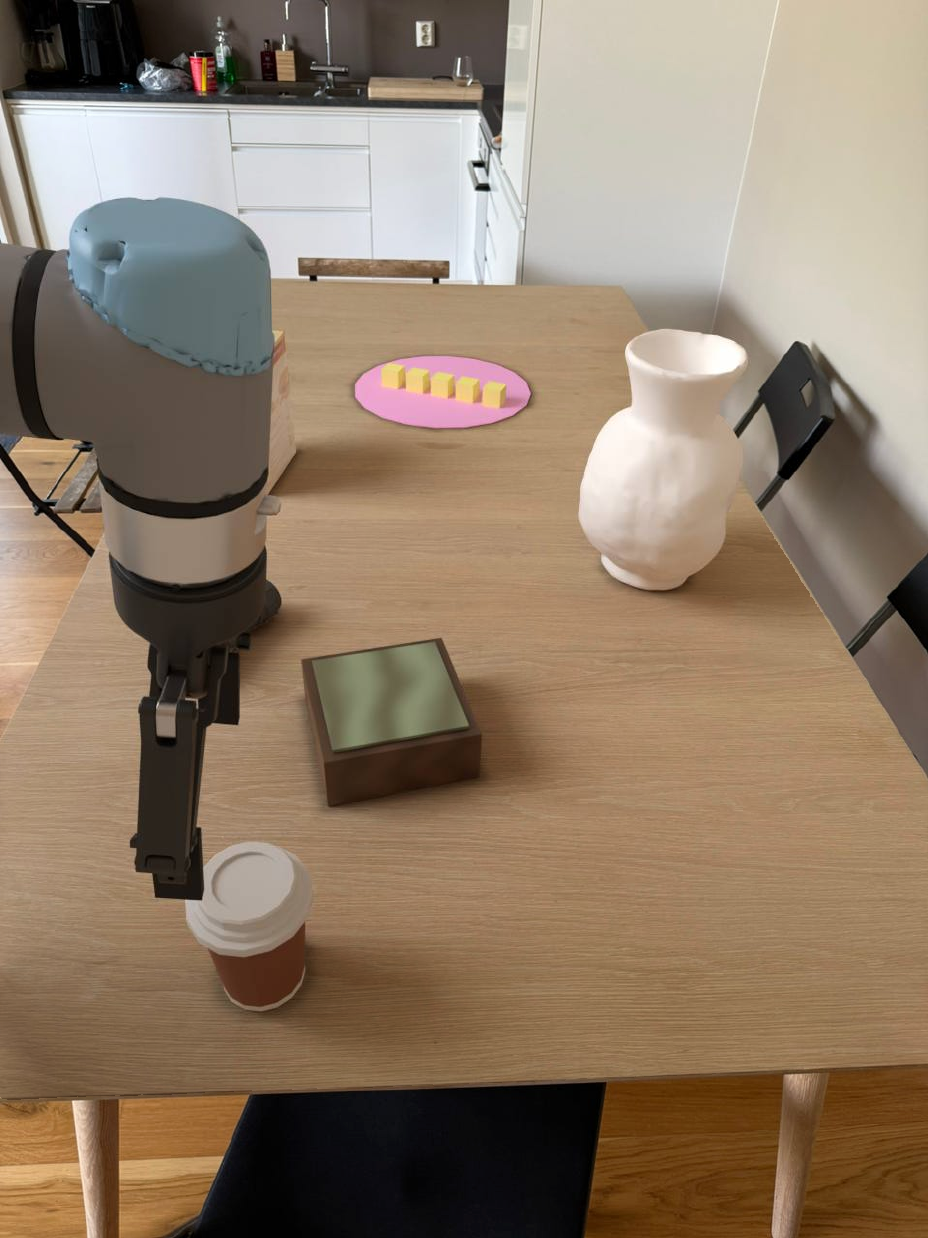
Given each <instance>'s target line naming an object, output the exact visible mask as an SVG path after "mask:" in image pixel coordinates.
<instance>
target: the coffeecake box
mask: <svg viewBox="0 0 928 1238" xmlns="http://www.w3.org/2000/svg"><path fill="white" fill-rule="evenodd" d="M272 332H273V333H274V336H275V343H274V356H273V379H272V401H271V423H270V446H269V471H268V478H267V481H268V485H267V490H266V493H265V495H270V492H271V491H272V489H273V488H274V486H275V485H276V483H277V482H278V480H279V479H280V477H281V476H282V474H283V473H284V471H285V470H286V468H287V467H288V465H289V464H290V463H291V461H292V459H293V458H294V456H295V455H296V453H297V448H296V447H297V446H296V438H295V429H294V417H293V406H292V398H291V397H292V396H291V386H290V377H289V366H288V355H287V348H286V338H285V334H286V333H285V331H283V330H273V329H272Z"/></svg>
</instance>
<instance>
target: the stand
mask: <svg viewBox="0 0 928 1238" xmlns="http://www.w3.org/2000/svg"><path fill="white" fill-rule="evenodd" d="M301 670H302V671H301V672H302V680H303V689H304V691H303V692H304V699H305V705H306V709H307V714H308V720H309V724H310V729H311V734H312V739H313V744H314V748H315V752H316V758H317V763H318V767H319V772H320V776H321V777H320V778H321V781H322V786H323V790H324V795H325V800H326V804H327V807H333V806H338V805H344V804H348V803H353V802H359V801H364V800H369V799H375V798H380V797H384V796H390V795H394V794H400V793H405V792H411V791H416V790H421V789H425V788H431V787H435V786H441V785H446V784H451V783H457V782H461V781H467V780H472V779H476V778H480V776H481V775H480V774H481V772H480V771H481V759H482V758H481V757H482V739H483V733H482V731H481V728H480V726H479V723H478V721H477V718H476V717H475V714H474V712H473V709H472V707H471V705H470V703H469V700H468V696H467V695H466V693H465V690H464V688H463V686H462V683H461V681H460V678H459V675H458V673H457V672H456V668H455V666H454V664H453V662H452V659H451V657H450V654H449V652H448V650H447V647H446V645H445V643H444V639H443V638H442V637H437V638H430V639H424V640H418V641H411V642H405V643H399V644H391V645H385V646H378V647H372V648H366V649H365V648H364V649H359V650H352V651H347V652H339V653H333V654H327V655H321V656H320V655H319V656H313V657H308V658H302V659H301Z"/></svg>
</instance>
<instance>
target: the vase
mask: <svg viewBox="0 0 928 1238" xmlns="http://www.w3.org/2000/svg"><path fill="white" fill-rule="evenodd" d="M624 356H625V361H626V364H627V369H628V374H629V375H628V376H629V381H630V388H631V405H630V406H628V407H626V408H624V409H622V410H619V411H617V412H615V414H614V415H612V416H610V418H609V419H608V420H607V422H606V423H605V424H604V425H603V426H602V428H601V429H600V431H599V433H598V434H597V437H596V439H595V441H594V443H593V446H592V449H591V452H590V454H589V455H588V459H587V462H586V466H585V468H584V471H583V477H582V480H581V483H580V486H579V487H580V488H579V505H578V514H577V515H578V521H579V523H580V526H581V530H582V531H583V533H584V535H585V537H586V539H587V540H588V541H589V543H590V544H591V545H592V546H593V548H594V549H596V550H597V551H598V552H599V553H600V554H601V555H600V556H601V558H600V562H601V564H602V566H603V567H604V569H605V570H606V571H607V572H608V573H609V574H610V576H611V577H613V578H614V579H616V580H617V581H619V582H621V583H623V584H625V585H628V586H631V587H633V588H637V589H641V590H646V591H668V590H673V589H675V588H679V587H680V586H682V585H683V584H685V582H686V580H687V579H688V578H689V577H690V576H693V575H694V574H696V573H698V572H699V571H701V570H702V569H704V567H706V566H707V565H708V564H709V563H711V562H712V561H713V560H714V559H715V557H717V555H718V554H719V552H720V551H721V549H722V547H723V545H724V542H725V539H726V534H727V529H726V525H727V524H726V523H727V520H726V517H727V514H728V513H729V511H730V509H731V508H732V506H733V504H734V501H735V499H736V494H737V492H738V489H739V481H740V477H741V475H742V473H743V469H744V463H745V460H744V451H743V447H742V445H741V442H740V440H739V438H738V437H737V435H736V433H735V431H734V430H733V428H732V427H731V425H730V424H729V423H728V422H727V421H726V419H724V418H723V417H722V415H720V414H719V413H718V411H719V410H720V407H721V406H722V404H723V402H724V401H725V399H726V397H727V395H728V394H729V392H730V391H731V390H732V388H733V387H734V386H735V384H736V383H737V382H738V380H739V379H740V377H741V376H742V375H743V373H745V372H746V369H747V367H748V363H749V356H748V353H747V351H746V349H745V348H744V347H743V346H742V345H740V344H739V343H738V342H736V341H734V340H732V339H730V338H726V337H723V336H721V335H718V334H708V333H702V332H700V331H686V330H683V329H673V328H660V329H657V330H651V331H646V332H644V333H642V334H640V335H637V336H635V337H634V338H633V339H631V340H630V341H629V342H628V343H627V345H626V347H625V350H624Z"/></svg>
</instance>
